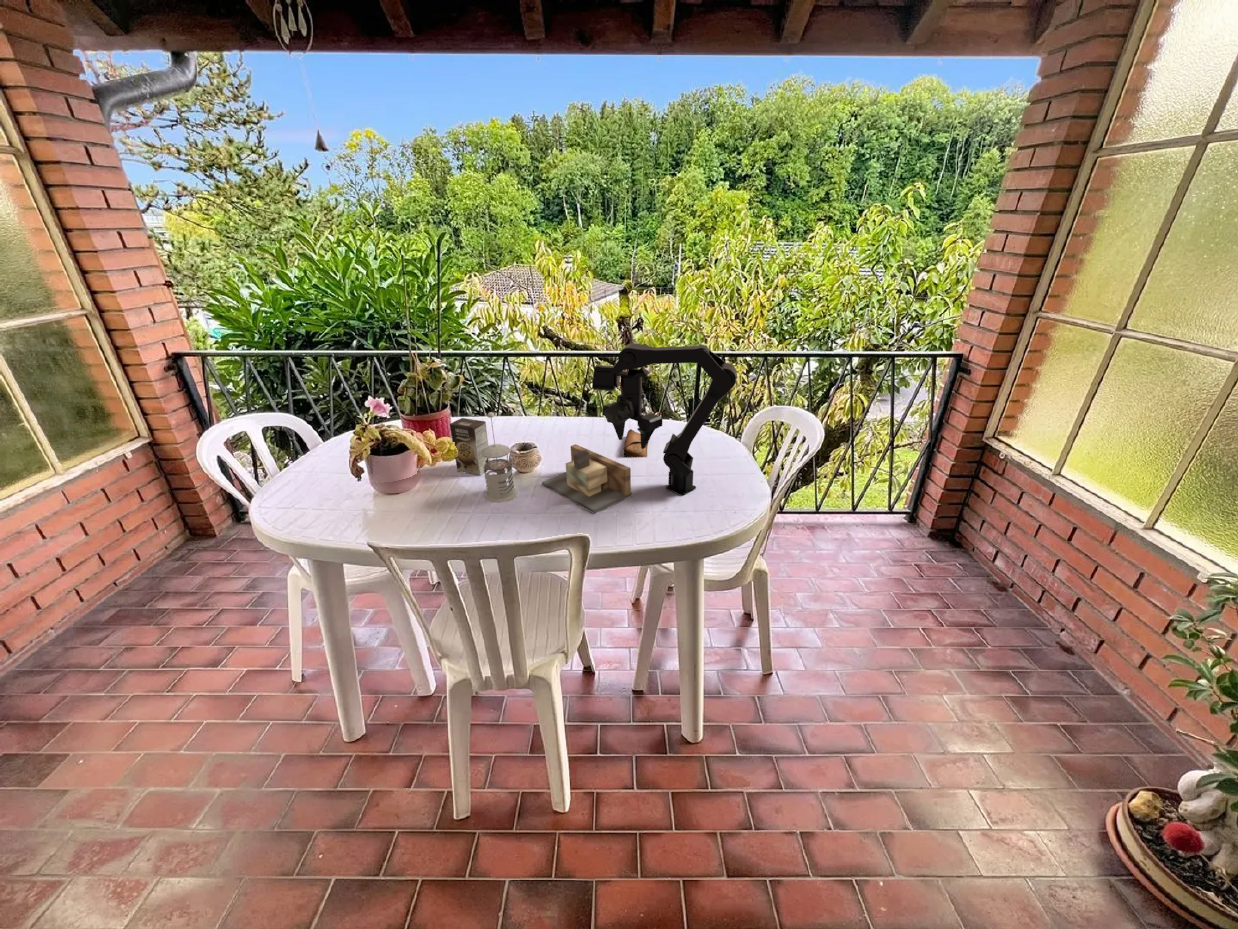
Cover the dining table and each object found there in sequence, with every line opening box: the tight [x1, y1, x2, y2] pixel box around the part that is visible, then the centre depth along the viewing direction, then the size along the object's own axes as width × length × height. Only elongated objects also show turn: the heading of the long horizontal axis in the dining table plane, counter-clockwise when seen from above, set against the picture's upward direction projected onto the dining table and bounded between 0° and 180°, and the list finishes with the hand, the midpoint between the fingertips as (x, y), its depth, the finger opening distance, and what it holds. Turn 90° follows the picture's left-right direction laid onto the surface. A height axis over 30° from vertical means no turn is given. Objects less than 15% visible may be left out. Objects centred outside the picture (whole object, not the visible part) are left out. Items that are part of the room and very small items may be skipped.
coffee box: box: [449, 417, 491, 476], centre depth 162 cm, size 9×6×16 cm
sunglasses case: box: [622, 429, 649, 458], centre depth 179 cm, size 18×7×7 cm
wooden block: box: [565, 451, 607, 497], centre depth 149 cm, size 10×7×11 cm
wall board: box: [541, 444, 633, 515], centre depth 149 cm, size 24×14×9 cm, turn 43°
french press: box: [481, 411, 519, 504], centre depth 145 cm, size 10×12×25 cm
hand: (631, 444), depth 148 cm, fingers open, 9 cm apart
